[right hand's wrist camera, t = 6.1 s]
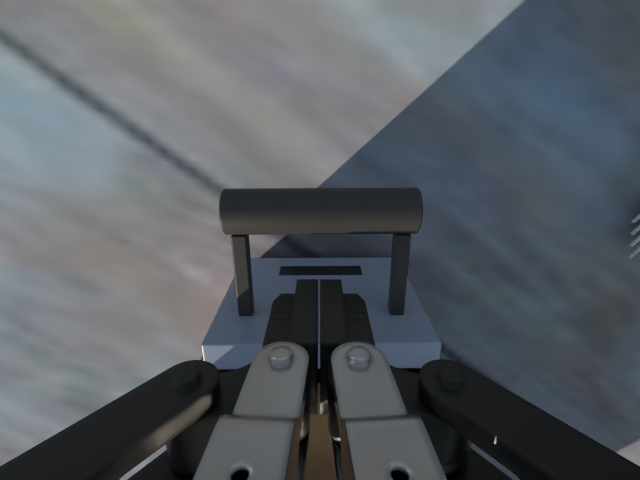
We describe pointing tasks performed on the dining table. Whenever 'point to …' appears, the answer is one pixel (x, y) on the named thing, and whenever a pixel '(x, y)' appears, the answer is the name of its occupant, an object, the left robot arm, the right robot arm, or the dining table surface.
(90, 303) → the dining table surface
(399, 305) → the drawer
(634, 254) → the fork
